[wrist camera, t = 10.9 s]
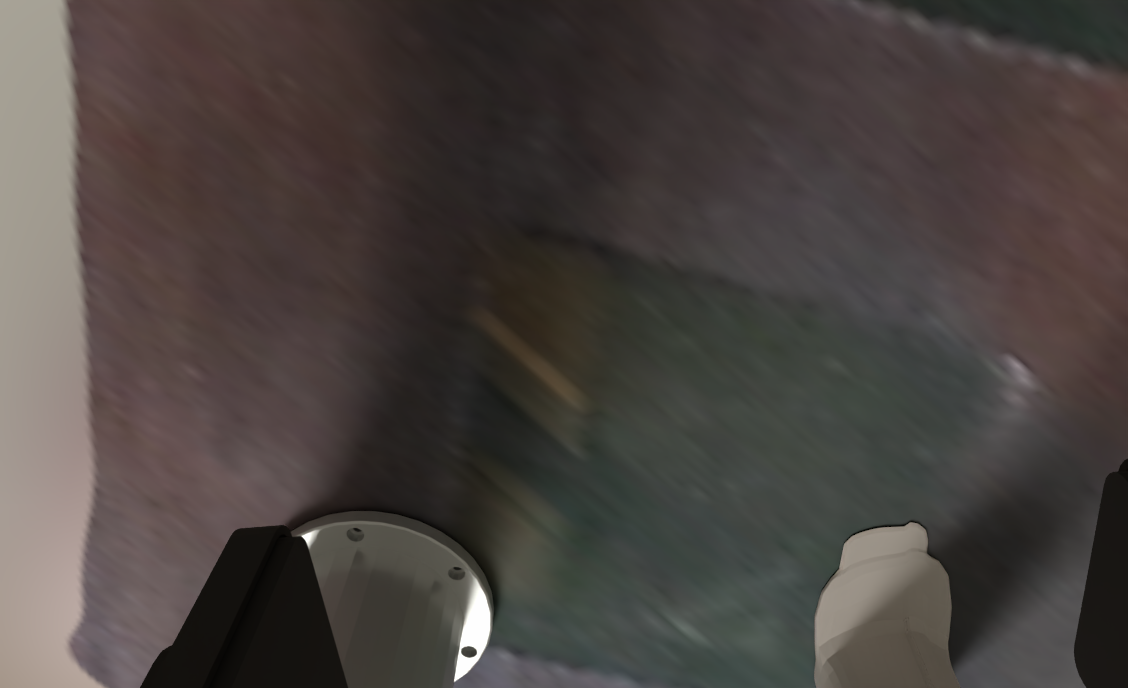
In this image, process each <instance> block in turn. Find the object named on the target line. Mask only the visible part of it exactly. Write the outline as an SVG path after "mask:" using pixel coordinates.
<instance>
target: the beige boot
mask: <svg viewBox="0 0 1128 688" xmlns="http://www.w3.org/2000/svg"><path fill="white" fill-rule="evenodd" d="M927 547H928V537H927V533H926V530H925V529H924V528H923V527H922V526H920V525H919V524H917V523H912V522H910V523H909V524H907V525H906V526H902V527H883V528H876V529H871V530H868V531H864V532H861V533H858V534H856V535H854V536H852V537H851V538H850V539H849V540H848V541H847V542H845V543H844V548H843V553H842V557H841V562H840V567H839V570H838V571H837V572H836V573H835V574H834V575H833V576H832V577H831V579H830V580H829V582H828V583H827V584H826V586H825V587H824V589H823V590H822V592H821V595H820V599H819V602H818V606H817V609H816V613H815V654H816V663H815V672H814V678H815V684H816V688H961V687H960V685H959V683H958V681H957V678H956V676H955V674H954V671H953V668H952V666H951V662H950V658H949V651H948V640H949V632H950V621H951V610H952V604H951V595H950V586H949V577H948V574H947V572H946V571H945V569H944V568H943V566H942V565H941V564H940V562H939V561H938V560H937V559H935V558H933V557H931V556H929V555H928V554H927Z"/></svg>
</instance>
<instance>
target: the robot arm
mask: <svg viewBox="0 0 1128 688" xmlns="http://www.w3.org/2000/svg"><path fill="white" fill-rule="evenodd" d="M493 616H494V604H493V597H492V591H491V589H490V586H489V584H488V581H487V579H486V576H485V574H484V573H483V571H482V570H481V568H480V567H479V565H478V564H477V562H476V561H475V559H474V558H473V557H472V556H471V555H470V554H469V553H468V552H467V551H466V550H465V549H464V548H463V547H462V546H461V545H460V544H458V543H457V542H455V541H454V540H453V539H451V538H450V537H448V536H447V535H445V534H444V533H443V532H441V531H439V530H437V529H435V528H433V527H431V526H429V525H427V524H424V523H422V522H420V521H417V520H414V519H410V518H407V517H404V516H401V515H397V514H390V513H383V512H377V511H349V512H343V513H336V514H330V515H326V516H323V517H320V518H318V519H315V520H312V521H309V522H307V523H305V524H303V525H301V526H300V527H298V528H296V529H294V530H293V531H291V532H290V530H289V529H288V528H287V527H286V526H283V525H279V526H266V527H253V528H241V529H237V530H235V531H234V532H233V534H232V535H231V537H230V538H229V540H228V542H227V544H226V546H225V548H224V550H223V552H222V553H221V555H220V557H219V559H218V561H217V563H216V565H215V567H214V568H213V570H212V572H211V574H210V576H209V578H208V580H207V581H206V583H205V585H204V587H203V589H202V591H201V593H200V595H199V596H198V598H197V600H196V602H195V604H194V606H193V608H192V610H191V611H190V613H189V615H188V617H187V619H186V621H185V623H184V624H183V626H182V628H181V630H180V632H179V634H178V636H177V638H176V639H175V641H174V643H173V645H172V646H169V647H168V648H166V649H165V650H163V651H162V652H161V653H160V654H159V656H158V657H157V659H156V660H155V661H154V663H153V665H152V667H151V668H150V670H149V672H148V674H147V676H146V678H145V679H144V681H143V683H142V685H141V687H140V688H453V685H454V682H456V681H457V680H458V679H460V678H461V677H463V676H464V675H465V674H467V673H468V672H469V671H470V670H471V669H472V668H473V667H474V666H475V664H476V663H477V662H478V661H479V660H480V659H481V657H482V655H483V653H484V651H485V650H486V648H487V646H488V644H489V640H490V636H491V632H492V626H493ZM1074 657H1075V663H1076V667H1077V670H1078V673H1079V676H1080V677H1081V679H1082V681H1083V683H1084V685H1085V686H1086V688H1128V459H1126V460H1124V462H1123V463H1122V464H1121V465H1120V468H1119V471H1118V472H1113V473H1110V474H1109V475H1108V476H1107V478H1106V480H1105V483H1104V488H1103V494H1102V499H1101V504H1100V510H1099V515H1098V521H1097V526H1096V531H1095V537H1094V542H1093V548H1092V553H1091V559H1090V564H1089V569H1088V575H1087V580H1086V586H1085V591H1084V596H1083V602H1082V607H1081V613H1080V618H1079V624H1078V629H1077V634H1076V640H1075V645H1074Z"/></svg>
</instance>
